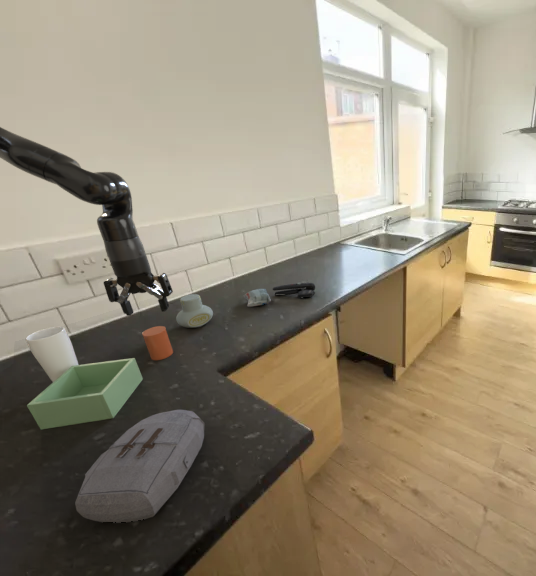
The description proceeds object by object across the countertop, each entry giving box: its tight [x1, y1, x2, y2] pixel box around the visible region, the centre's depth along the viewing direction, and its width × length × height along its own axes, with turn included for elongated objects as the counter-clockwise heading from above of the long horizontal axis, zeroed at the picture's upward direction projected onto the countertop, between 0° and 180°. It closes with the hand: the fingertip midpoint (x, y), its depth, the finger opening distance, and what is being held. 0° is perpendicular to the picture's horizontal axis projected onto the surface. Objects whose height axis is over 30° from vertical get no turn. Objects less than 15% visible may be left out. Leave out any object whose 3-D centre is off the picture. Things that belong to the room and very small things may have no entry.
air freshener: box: [175, 293, 214, 329], centre depth 107 cm, size 11×8×10 cm
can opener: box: [272, 281, 316, 298], centre depth 128 cm, size 18×7×6 cm, turn 84°
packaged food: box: [243, 288, 272, 308], centre depth 123 cm, size 9×12×5 cm
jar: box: [141, 325, 174, 361], centre depth 91 cm, size 6×6×8 cm
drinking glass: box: [25, 325, 80, 383], centre depth 78 cm, size 7×7×15 cm
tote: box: [26, 357, 144, 430], centre depth 73 cm, size 14×14×7 cm
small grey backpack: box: [74, 409, 206, 524], centre depth 56 cm, size 15×8×20 cm
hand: (147, 312), depth 87 cm, fingers open, 8 cm apart
